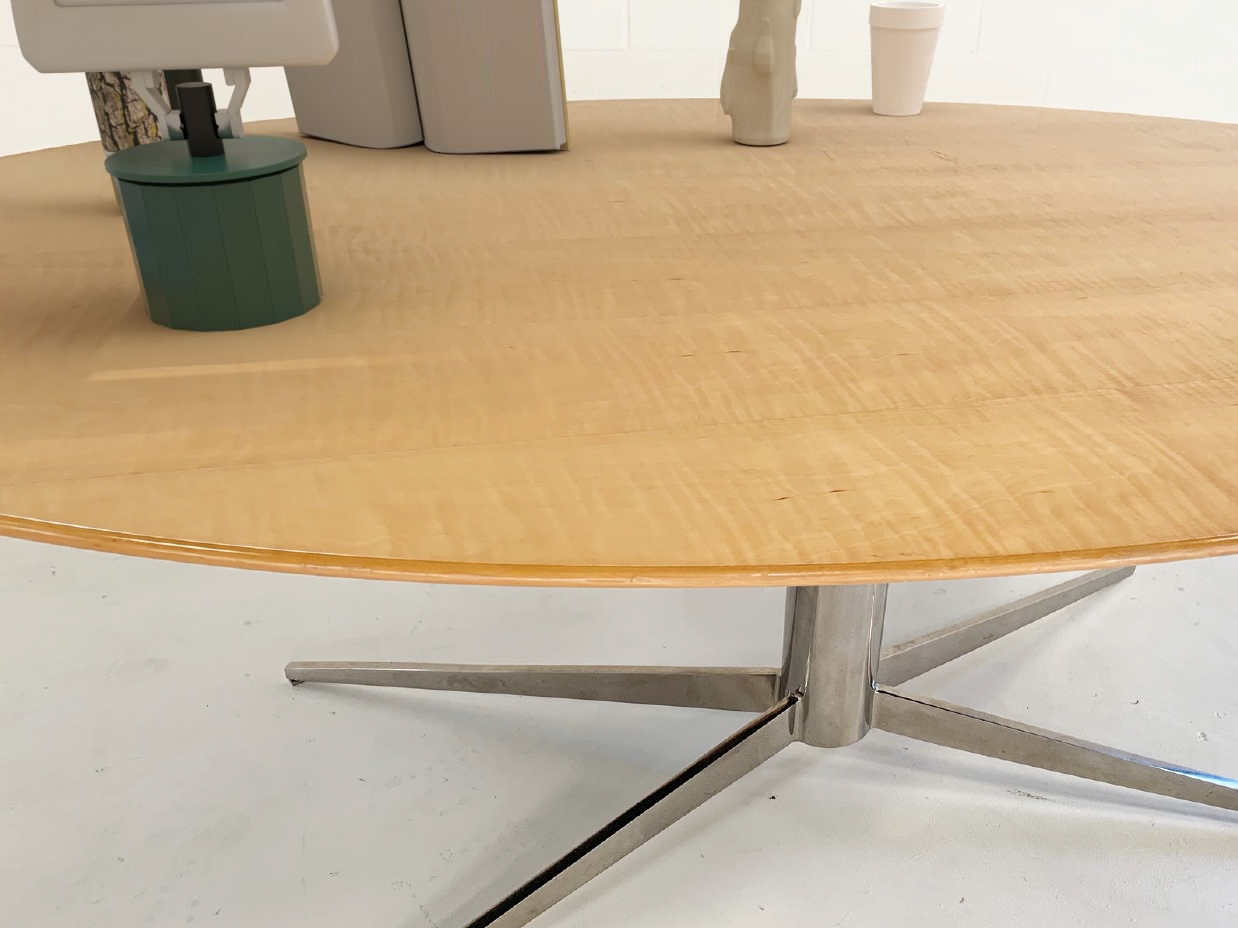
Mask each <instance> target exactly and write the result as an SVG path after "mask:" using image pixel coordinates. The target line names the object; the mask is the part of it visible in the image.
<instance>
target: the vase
mask: <svg viewBox="0 0 1238 928" xmlns="http://www.w3.org/2000/svg"><path fill="white" fill-rule="evenodd" d="M802 1H803V0H739V7H738V17H737V21H736V24H735V25H734V26H733V29H732V31H731V32H730V37H729V41H728V49H727V53H726V59H725V64H724V68H723V74H722V77H721V81H720V87H719V88H720V89H719V102H720V104H721V109H722V110H723V113H724V114H723V115H724V116H725V115H727V116H730V118H731V128H732V129H731V135H732V137H733V140H734V142H737V143H740V144H743V145H748V146H762V147H765V146H775V145H776V146H777V145H780V144H783V143H786V142H788V140H789V138H790V135H791V125H792V124H791V122H792V102H793V100H794V99H795V98H796V97H797V96H798V91H799V88H798V78H797V77H798V76H797V67H796V61H797V45H796V36H797V25H798V24H797V23H798V18H799V15H800V14H801V9H802Z"/></svg>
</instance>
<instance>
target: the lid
mask: <svg viewBox="0 0 1238 928" xmlns="http://www.w3.org/2000/svg"><path fill="white" fill-rule="evenodd" d="M175 88H176V93H177V98H178V103H179V107H180V112H181V117H182V122H183V126H184V131H185V136H186V140H182V141H158V142H152V143H147V144H142V145H138V146H134V147H130V148H127V149H124V150H121V151H118V152H116V153H114V154H112V155H110V156H109V157H107V158H106V157H105V159H104V161H103V165H104V169H105V171H106V173H107V174H109V176H110V175H112V176H115V177H118V178H121V179H126V180H132V181H140V182H150V183H160V184H201V183H217V182H225V181H233V180H242V179H248V178H252V177H256V176H261V175H265V174H270V173H272V172H275V171H279V170H283V169H286V168H289V167H291V166H294V165H296V164H298V163H300V162H302V163H303V162H304V161H305V160H306V159H307V157H308V150H307V147H306V144H304V143H303V142H301V141H299V140H295V139H292V138H288V137H283V136H274V135H266V134H265V135H263V134H244V136H243V137H242V138H241V139H220V138H219V135H218V128H219V126H218V125H217V124H216V120H215V114H214V113H215V112H217V110H218V108H217V104H216V99H215V92H214V87H213V84H212V83H211V82H207V81H204V82H190V83H182V84H178V85H176V86H175Z"/></svg>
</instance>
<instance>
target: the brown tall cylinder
mask: <svg viewBox="0 0 1238 928" xmlns="http://www.w3.org/2000/svg"><path fill="white" fill-rule="evenodd" d="M84 75H85V79H86V83H87V87H88V92H89V96H90V100H91V105H92V108H93V113H94V116H95V120H96V124H97V129H98V132H99V136H100V141H101V145H102V148H103V153H104V156H105V159H106V158H107V157H109V156H110V155H112V154H114V153H116V152H118V151H121V150H124V149H127V148H130V147H134V146H138V145H142V144H147V143H152V142H158V141H163V138H162V135H161V131H160V126H159V122H158V117H157V115H155V114H154V113H153V112H152V111H151V109H150V108H149V107H148V106H147V104H146V103H145V102H144V101H143V100H142V98H141V97H140V96H139V95H138V94H137V92H136V91H135V90H134V87H133V83H132V79H131V74H130V71H113V72H84ZM159 75H160V79H161V82H160V83H159V84H158V85H157V86H155V88H156V89H157V91H158V92H159V93H160V95H161V96H162V97H163V99H164V100H165V101H166V103H167V104H168V105H169V107H170V108H171V106H170V101H169V97H168V92H167V87H166V83H165V78H164V73H163V70H159ZM109 176H110V180H111V184H112V189H113V192H114V197H115V200H116V204H117V206H118V207H119V208H120V209H121V207H120V203H119V199H118V195H117V191H116V187H115V183H114V179H113V176H112V175H110V174H109Z"/></svg>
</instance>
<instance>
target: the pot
mask: <svg viewBox="0 0 1238 928" xmlns="http://www.w3.org/2000/svg"><path fill="white" fill-rule="evenodd" d="M304 171H305V170H304V165H303V161H302V162H300V163H298V164H296V165H294V166H291V167H289V168H286V169H283V170H279V171H275V172H272V173H270V174H265V175H261V176H256V177H252V178H248V179H242V180H233V181H225V182H217V183H201V184H160V183H150V182H140V181H132V180H126V179H121V178H118V177H115V176H113V179H114V183H115V187H116V191H117V195H118V199H119V203H120V207H121V208H120V207H119V208H120V211H121V215H122V219H123V223H124V227H125V231H126V234H127V239H128V244H129V248H130V252H131V256H132V260H133V264H134V268H135V272H136V277H137V281H138V285H139V290H140V293H141V297H142V301H143V306H144V310H145V313H146V315H147V316H148V318H149V319H150V320H151V322H152V323H153V324H156V325H159V326H162V327H165V328H168V329H172V330H176V331H177V330H178V331H189V332H199V333H213V332H214V333H215V332H233V331H244V330H248V329H249V330H250V329H254V328H261V327H266V326H270V325H277V324H279V323H282V322H286V321H288V320H292V319H295V318H297V317H300V316H304V315H305V314H307V313H308V312H310V311H311V310H313V309H314V308H316V307H318V306H319V305H320V304H321V303H322V299H323V296H324V292H323V291H324V290H323V284H322V279H321V271H320V265H319V259H318V254H317V246H316V241H315V235H314V228H313V221H312V215H311V207H310V202H309V196H308V190H307V182H306V176H305V172H304Z"/></svg>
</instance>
